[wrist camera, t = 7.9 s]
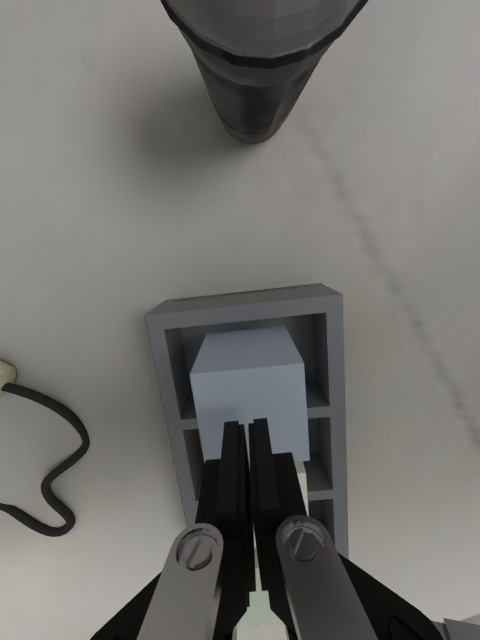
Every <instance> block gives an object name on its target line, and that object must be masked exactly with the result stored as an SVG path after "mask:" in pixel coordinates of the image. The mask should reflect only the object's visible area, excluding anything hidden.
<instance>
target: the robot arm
mask: <svg viewBox="0 0 480 640" xmlns="http://www.w3.org/2000/svg"><path fill="white" fill-rule="evenodd" d="M248 432H249V458H250V468H249V460H248V452H247V443H246V435H245V427H244V424H239V422H238V421H228V422H224V430H223V440H222V451H221V459H210V460H206V461H205V465H204V471H203V477H202V483H201V489H200V495H199V501H198V507H197V513H196V519H195V524H194V525H192V526H189V527H188V528H186V529H185V530H183V531H182V532H181V533H180V534H179V535H178V536H177V537H176V539H175V541H174V543H173V544H172V546H171V549H170V552H169V554H168V557H167V560H166V562H165V565H164V568H163V570H162V572H161V573H159V574H158V575H157V576H156V577H155V578H154V579H153V580H152V581H151V582H150V583H149V584H148V585H147V586H146V587H144V588H143V589H142V590H141V591H140V592H139V593H138V594H137V595H136V596H135V597H134V598H133V599H132V600H131V601H130V602H128V603H127V604H126V605H125V606H124V607H123V608H122V609H121V610H120V611H119V612H118V613H117V614H116V615H115V616H114V617H112V618H111V619H110V620H109V621H108V622H107V623H106V624H105V625H104V626H103V627H102V628H101V629H100V630H99V631H98V632H96V633H95V634H94V635H93V637H92V638H91V639H90V640H236V639H237V623H238V622H239V621H240V619H241V618H242V617H243V615H244V614H245V613H246V611H247V607H250V594H249V592H256V573H255V550H254V534H255V541H256V549H257V557H258V565H259V573H260V581H261V588H262V591H268V595H269V603H270V609H271V610H272V611H273V612H274V613H275V615H276V616H277V617H278V618H279V619H280V620H281V621H282V622H283V623H284V624H285V632H286V636H287V640H480V625H476V624H471V623H466V622H461V621H456V620H451V619H446V618H444V620H443V623H440V622H435V621H431V620H430V619H429V618H427V617H426V616H425V615H424V614H423V613H422V612H421V611H419V610H418V609H417V608H415V607H414V606H412V605H411V604H410V603H408V602H407V601H405V600H404V599H403V598H401V597H400V596H398V595H397V594H396V593H394V592H393V591H391V590H390V589H389V588H387V587H386V586H384V585H383V584H382V583H380V582H379V581H377V580H376V579H375V578H373V577H372V576H370V575H369V574H368V573H366V572H365V571H363V570H362V569H361V568H359V567H358V566H356V565H355V564H354V563H352V562H351V561H349V560H348V559H347V558H345V557H344V556H342V555H341V554H340V553H338V552H337V550H336V548H335V546H334V544H333V542H332V539H331V537H330V535H329V533H328V532H327V530H326V528H325V527H324V526H323V525H322V524H321V523H320V522H319V521H318V520H316V519H314V518H312V517H310V516H307V512H306V508H305V504H304V500H303V495H302V491H301V487H300V483H299V479H298V475H297V471H296V467H295V463H294V459H293V455H292V452H286V453H275V454H272V449H271V442H270V435H269V428H268V422H267V418H260V419H253V423H248ZM253 526H254V527H253Z"/></svg>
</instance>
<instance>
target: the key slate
mask: <svg viewBox="0 0 480 640" xmlns="http://www.w3.org/2000/svg"><path fill="white" fill-rule="evenodd" d="M190 379H191V385H192V391H193V397H194V403H195V409H196V415H197V421H198V427H199V433H200V439H201V444H202V450H203V456H204V462H205V461H206V460H210V459H221V451H222V440H223V430H224V422H228V421H238V422H239V424H244V427H245V435H246V443H247V452H248V460H249V466H250V458H249V432H248V423H253V419H260V418H267V422H268V428H269V435H270V442H271V449H272V454H275V453H286V452H292V455H293V459H294V462H299V461H310V454H309V437H308V420H307V404H306V387H305V370H304V362H303V360H302V358H301V356H300V354H299V352H298V350H297V348H296V346H295V345H294V343H293V341H292V339H291V337H290V335H289V333H288V331H287V329H286V327H285V325H284V326H275V327H265V328H255V329H246V330H236V331H227V332H217V333H207V334H206V336H205V338H204V341H203V343H202V346H201V348H200V351H199V353H198V355H197V358H196V360H195V363H194V365H193V368H192V370H191V372H190Z"/></svg>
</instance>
